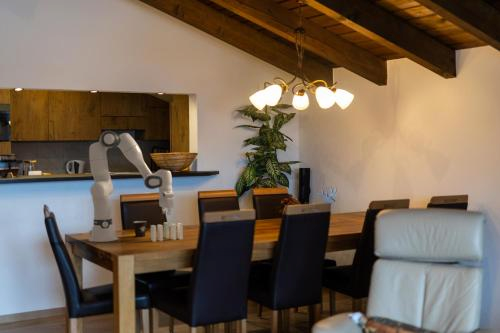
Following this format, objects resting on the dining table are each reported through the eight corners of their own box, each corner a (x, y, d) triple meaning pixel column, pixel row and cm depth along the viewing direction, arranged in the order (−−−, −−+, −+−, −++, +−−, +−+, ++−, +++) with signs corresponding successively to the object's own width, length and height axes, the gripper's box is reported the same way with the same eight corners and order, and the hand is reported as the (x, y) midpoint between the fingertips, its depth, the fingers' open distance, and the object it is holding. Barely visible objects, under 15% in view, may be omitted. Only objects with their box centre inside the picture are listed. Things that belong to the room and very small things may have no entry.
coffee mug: (134, 237, 453) (133, 222, 453) (133, 235, 462) (133, 221, 462) (151, 236, 456) (151, 222, 455) (150, 235, 464) (150, 220, 464)
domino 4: (170, 239, 444) (170, 223, 443) (173, 238, 445) (173, 223, 444) (173, 240, 439) (173, 224, 439) (176, 239, 440) (176, 224, 440)
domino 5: (177, 238, 446) (177, 223, 445) (180, 238, 447) (180, 223, 446) (179, 239, 441) (179, 224, 441) (182, 239, 442) (182, 223, 442)
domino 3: (163, 237, 452) (163, 222, 452) (166, 237, 453) (166, 222, 453) (166, 238, 448) (165, 223, 447) (169, 238, 449) (168, 223, 448)
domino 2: (157, 240, 440) (157, 224, 440) (160, 239, 441) (160, 224, 441) (160, 241, 435) (159, 225, 435) (163, 240, 436) (162, 225, 436)
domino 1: (151, 240, 438) (150, 225, 438) (154, 240, 439) (153, 225, 439) (153, 241, 434) (153, 226, 433) (156, 241, 434) (156, 225, 434)
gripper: (156, 192, 457) (157, 213, 458) (166, 194, 439) (166, 215, 439) (165, 192, 460) (166, 212, 461) (175, 193, 442) (176, 215, 442)
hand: (166, 214), depth 450 cm, fingers open, 8 cm apart
